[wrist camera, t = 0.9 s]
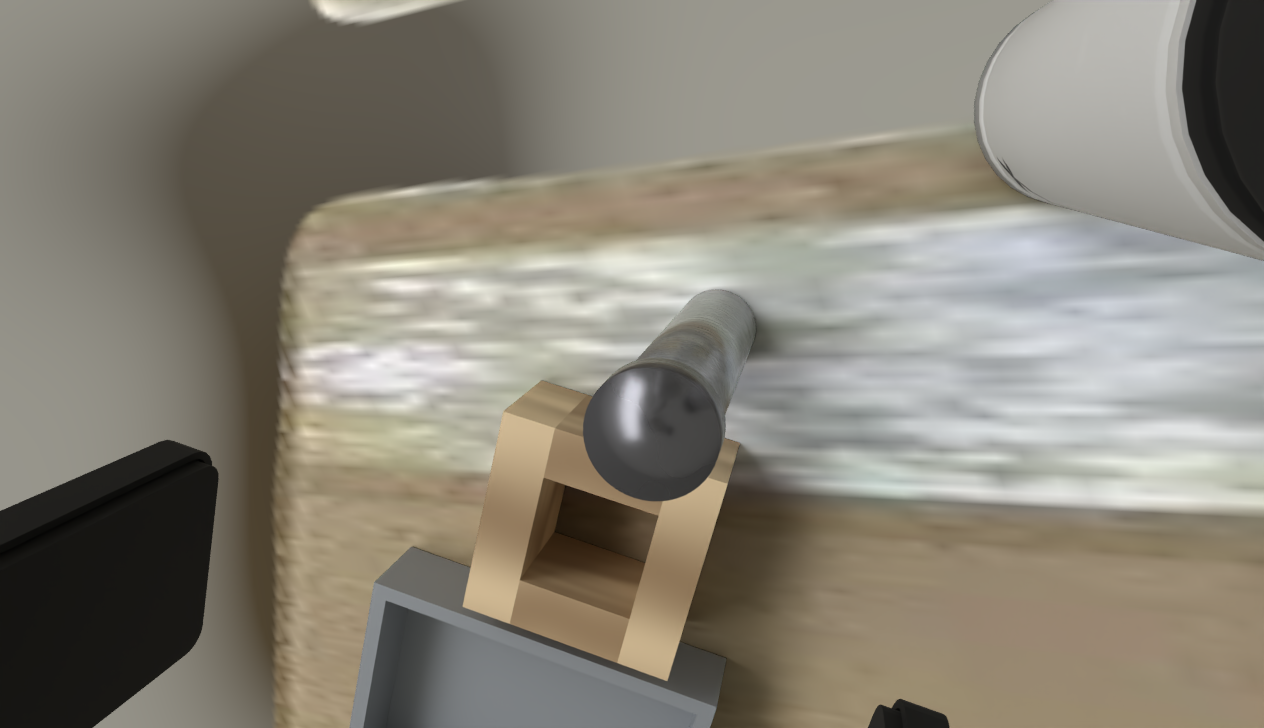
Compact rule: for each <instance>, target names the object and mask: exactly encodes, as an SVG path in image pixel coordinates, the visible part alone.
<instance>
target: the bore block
mask: <svg viewBox="0 0 1264 728" xmlns="http://www.w3.org/2000/svg"><path fill="white" fill-rule="evenodd" d="M591 399H592V396H589V395H586V394H583V393H580V392H576V391H573V390H570V389H567V388H564V387H560V386H557V385H554V384H551V383H548V382H545V381H540V382H539V383H538V384H536V385H535V386H534V387H533V388H532V389H530V390H529V391H528V392H527V393H525V394H524V395H523V396H522V397H521V398H519V399H518V400H517V401H516V402H514V403H513V404H512V405H511V406H509V407H508V408H507V409H506V410H505V411H503V416H502V420H501V425H500V430H499V435H498V440H497V444H496V449H495V454H494V459H493V463H492V468H491V473H490V478H489V483H488V487H487V492H486V497H485V502H484V506H483V511H482V516H481V521H480V525H479V530H478V535H477V540H476V545H475V549H474V554H473V559H472V564H471V568H470V573H469V578H468V583H467V587H466V592H465V597H464V602H463V607H465V608H467V609H470V610H473V611H476V612H478V613H481V614H484V615H487V616H489V617H492V618H495V619H498V620H500V621H503V622H506V623H509V624H511V625H514V626H517V627H520V628H522V629H525V630H528V631H531V632H533V633H536V634H539V635H542V636H544V637H547V638H550V639H553V640H555V641H558V642H561V643H564V644H566V645H569V646H572V647H575V648H577V649H580V650H583V651H586V652H588V653H591V654H594V655H597V656H599V657H602V658H605V659H608V660H610V661H613V662H616V663H619V664H621V665H624V666H627V667H630V668H632V669H635V670H638V671H641V672H643V673H646V674H649V675H652V676H654V677H657V678H660V679H663V680H665V681H667V680H668V677H669V674H670V671H671V667H672V664H673V661H674V657H675V654H676V651H677V648H678V644H679V641H680V638H681V635H682V631H683V628H684V625H685V622H686V618H687V615H688V612H689V609H690V605H691V602H692V599H693V596H694V592H695V589H696V586H697V582H698V579H699V576H700V573H701V569H702V566H703V563H704V560H705V556H706V553H707V550H708V547H709V543H710V540H711V537H712V534H713V530H714V527H715V524H716V520H717V517H718V514H719V511H720V507H721V504H722V501H723V498H724V494H725V491H726V488H727V485H728V481H729V478H730V475H731V471H732V468H733V465H734V462H735V458H736V455H737V452H738V448H739V445H740V443H738V442H735V441H732V440H729V439H726V438H724V441H723V445H722V447H721V450H720V453H719V456H718V459H717V461H716V464H715V466H714V468H713V470H712V472H711V473H710V475H709V476H708V477H707V479H706V480H705V481H704V482H703V483H702V484H701V485H700V486H699V487H698V488H696V489H695V490H694V491H692V492H690V493H688V494H687V495H685V496H682V497H680V498H677V499H673V500H669V501H645V500H640V499H636V498H633V497H630V496H628V495H625V494H624V493H622V492H620V491H618V490H617V489H615V488H614V487H612V486H611V485H610V484H609V483H607V482H606V481H605V480H604V479H603V478H602V477H601V476H600V474H599V473H598V472H597V471H596V469H595V468H594V466H593V465H592V463H591V461H590V459H589V457H588V454H587V451H586V448H585V444H584V438H583V422H584V416H585V413H586V409H587V407H588V404H589V402H590V400H591ZM565 485H567V486H570V487H573V488H576V489H579V490H582V491H585V492H588V493H591V494H594V495H597V496H600V497H603V498H606V499H609V500H612V501H615V502H618V503H621V504H624V505H628V506H631V507H634V508H637V509H640V510H643V511H646V512H649V513H652V514H655V515H658V520H657V524H656V527H655V531H654V534H653V538H652V541H651V545H650V548H649V552H648V555H647V559H646V562H645V563H643V562H640V561H638V560H635V559H632V558H629V557H626V556H623V555H620V554H617V553H614V552H611V551H608V550H605V549H603V548H600V547H597V546H594V545H591V544H588V543H585V542H582V541H579V540H576V539H573V538H570V537H568V536H565V535H562V534H559V533H556V532H554V531H555V527H556V523H557V518H558V514H559V510H560V506H561V502H562V498H563V494H564V489H565Z"/></svg>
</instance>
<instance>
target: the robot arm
mask: <svg viewBox="0 0 1264 728" xmlns="http://www.w3.org/2000/svg"><path fill="white" fill-rule="evenodd" d="M217 488H218V471H217V469H216V468H215V467H213V466H212V461H211V458H210V456H209V455H208V454H207V453H206V452H203V451H200V450H197V449H194V448H192V447H189V446H186V445H183V444H180V443H178V442H175V441H171V440H165V441H161V442H158V443H156V444H154V445H151V446H149V447H147V448H144V449H142V450H140V451H138V452H136V453H133V454H131V455H128V456H126V457H124V458H121V459H119V460H117V461H115V462H112V463H110V464H108V465H105V466H103V467H101V468H98V469H96V470H94V471H91V472H89V473H87V474H84V475H82V476H80V477H78V478H75V479H73V480H71V481H68V482H66V483H64V484H62V485H59V486H57V487H55V488H52V489H50V490H48V491H46V492H43V493H41V494H38V495H36V496H34V497H31V498H29V499H27V500H25V501H22V502H20V503H18V504H15V505H13V506H11V507H8V508H6V509H4V510H1V511H0V728H93V727H94V726H95V725H96V724H98V723H99V722H100V721H102V720H103V719H104V718H105V717H107V716H108V715H109V714H111V712H113V711H114V710H115V709H117V708H118V707H119V706H121V705H122V704H123V703H124V702H126V701H127V700H128V699H130V698H131V697H132V696H134V695H135V694H136V693H137V692H139V691H140V690H141V689H142V688H144V687H145V686H146V685H148V684H149V683H150V682H151V681H153V680H154V679H155V678H157V677H158V676H159V675H160V674H162V673H163V672H164V671H165V670H167V669H168V668H169V667H171V666H172V665H173V664H174V663H175V662H177V661H178V660H179V659H181V658H182V657H183V656H185V655H186V654H187V653H188V652H189V651H190V650H191V649H192V647H193V646H194V645H195V643H196V642H197V640H198V638H199V636H200V633H201V630H202V625H203V617H204V607H205V598H206V589H207V580H208V570H209V561H210V551H211V543H212V533H213V525H214V515H215V506H216V496H217ZM868 728H949V723H948V720H947V717H946V716H945V715H944V714H942V713H939V712H936V711H933V710H930V709H928V708H925V707H922V706H919V705H916V704H913V703H911V702H908V701H905V700H902V699H899V700H897V701H896V702H895V704H894V705H893V707H892V708H889V707H886V706H883V705H879V706H878V707H877V708H876V710H875V712H874V714H873V716H872V719H871V721H870V724H869V726H868Z"/></svg>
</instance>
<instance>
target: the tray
mask: <svg viewBox="0 0 1264 728" xmlns="http://www.w3.org/2000/svg"><path fill="white" fill-rule="evenodd" d="M469 573H470V567H468V566H465V565H462V564H459V563H456V562H453V561H451V560H448V559H445V558H442V557H439V556H437V555H434V554H431V553H428V552H425V551H422V550H420V549H417V548H414V547H411V548H410V549H408V550H407V551H406V552H405V553H404V554H403V555H402V556H401V557H400V558H399V559H398V560H397V561H396V562H395V563H394V564H393V565H392V566H391V567H390V568H389V569H388V570H387V571H386V572H385V573H383V574H382V575H381V576H380V577H379V578H378V579H377V580H376V581H375V582H374V586H373V592H372V598H371V604H370V610H369V616H368V622H367V628H366V633H365V639H364V645H363V651H362V657H361V663H360V669H359V675H358V680H357V686H356V692H355V698H354V704H353V710H352V716H351V722H350V728H710V726H711V723H712V720H713V717H714V714H715V711H716V708H717V704H718V699H719V694H720V689H721V684H722V679H723V674H724V669H725V664H726V659H727V658H724V657H721V656H718V655H715V654H713V653H710V652H707V651H704V650H701V649H698V648H696V647H693V646H690V645H687V644H684V643H682V642H679V644H678V648H677V651H676V654H675V657H674V661H673V664H672V667H671V671H670V674H669V677H668V680H667V681H665V680H663V679H660V678H657V677H654V676H652V675H649V674H646V673H643V672H641V671H638V670H635V669H632V668H630V667H627V666H624V665H621V664H619V663H616V662H613V661H610V660H608V659H605V658H602V657H599V656H597V655H594V654H591V653H588V652H586V651H583V650H580V649H577V648H575V647H572V646H569V645H566V644H564V643H561V642H558V641H555V640H553V639H550V638H547V637H544V636H542V635H539V634H536V633H533V632H531V631H528V630H525V629H522V628H520V627H517V626H514V625H511V624H509V623H506V622H503V621H500V620H498V619H495V618H492V617H489V616H487V615H484V614H481V613H478V612H476V611H473V610H470V609H467V608H465V607H463V602H464V597H465V592H466V587H467V583H468V578H469Z"/></svg>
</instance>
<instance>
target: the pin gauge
mask: <svg viewBox="0 0 1264 728" xmlns="http://www.w3.org/2000/svg"><path fill="white" fill-rule="evenodd" d="M755 334H756V322H755V318H754V315H753V312H752V310H751V308H750V307H749V305H748V304H747V303H746V302H745V301H744V300H743V299H742V298H741V297H739V296H738V295H736V294H734V293H732V292H729V291H725V290H718V289H717V290H708V291H705V292H702V293H700V294H698V295H696V296H695V297H693V298H692V299H691V300H690V301H689V302H688V303H687V304H686V305H685V307H684V308H683V309H682V310H681V311H680V312H679V313H678V314H677V316H676V317H675V318H674V319H673V320H672V321H671V322H670V323H669V324H668V326H667V327H666V328H665V329H664V330H663V331H662V332H661V333H660V334H659V336H658V337H657V338H656V339H655V340H654V341H653V342H652V343H651V344H650V346H649V347H648V348H647V349H646V350H645V351H644V352H643V353H642V354H641V356H640V357H639V358H638V359H637V360H636V361H634V362H631V363H629V364H627V365H625V366H623V367H622V368H620V369H618V370H617V371H616V372H615V373H614V374H612V375H611V376H610V377H609V379H608V380H607V381H606V382H605V383H604V384H603V385H602V386H601V387H600V388H599V389H598V390H597V392H596V393H595V394H594V396H593V397H592V399H591V400H590V402H589V404H588V407H587V409H586V413H585V416H584V422H583V438H584V444H585V448H586V451H587V454H588V457H589V459H590V461H591V463H592V465H593V466H594V468H595V469H596V471H597V472H598V473H599V474H600V476H601V477H602V478H603V479H604V480H605V481H606V482H607V483H609V484H610V485H611V486H612V487H614V488H615V489H617V490H618V491H620V492H622V493H624V494H625V495H628V496H630V497H633V498H636V499H640V500H645V501H669V500H673V499H677V498H680V497H682V496H685V495H687V494H688V493H690V492H692V491H694V490H695V489H696V488H698V487H699V486H700V485H701V484H702V483H703V482H704V481H705V480H706V479H707V477H708V476H709V475H710V473H711V472H712V470H713V468H714V466H715V464H716V461H717V459H718V456H719V453H720V450H721V447H722V445H723V441H724V437H725V428H726V424H725V414H726V411H727V408H728V406H729V403H730V401H731V398H732V395H733V393H734V390H735V388H736V385H737V383H738V380H739V377H740V375H741V372H742V370H743V367H744V365H745V362H746V359H747V357H748V354H749V352H750V349H751V347H752V344H753V341H754V339H755Z"/></svg>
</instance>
